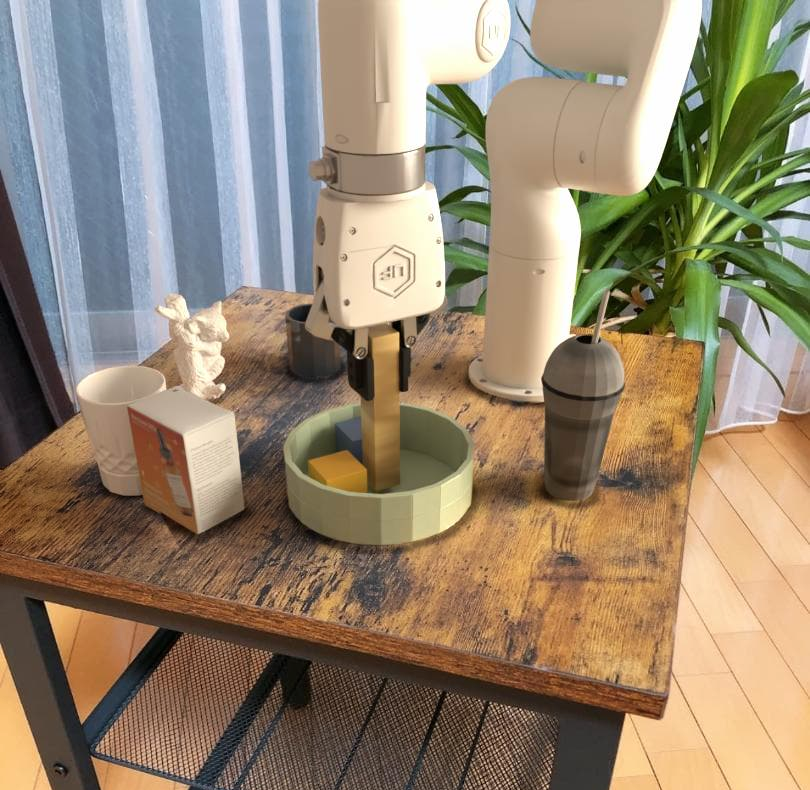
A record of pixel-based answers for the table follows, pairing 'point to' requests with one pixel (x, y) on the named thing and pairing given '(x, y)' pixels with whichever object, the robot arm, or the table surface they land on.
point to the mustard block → (339, 472)
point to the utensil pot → (309, 346)
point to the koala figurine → (197, 345)
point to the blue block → (349, 437)
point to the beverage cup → (579, 410)
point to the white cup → (116, 421)
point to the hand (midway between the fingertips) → (379, 388)
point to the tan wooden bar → (382, 411)
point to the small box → (187, 458)
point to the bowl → (392, 507)
